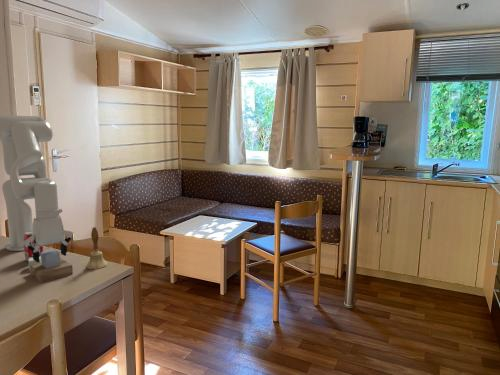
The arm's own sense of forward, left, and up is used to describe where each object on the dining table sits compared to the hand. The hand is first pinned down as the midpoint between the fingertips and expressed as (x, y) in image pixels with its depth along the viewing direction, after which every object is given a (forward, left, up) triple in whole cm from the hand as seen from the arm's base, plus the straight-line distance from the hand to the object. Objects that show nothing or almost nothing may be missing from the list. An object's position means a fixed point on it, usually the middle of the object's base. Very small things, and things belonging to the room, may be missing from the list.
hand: (50, 258), depth 145 cm
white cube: (-10, -2, -6) cm, 12 cm away
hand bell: (+4, +16, -7) cm, 18 cm away
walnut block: (0, 0, -7) cm, 7 cm away
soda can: (-20, +1, -6) cm, 21 cm away
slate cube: (0, 0, -3) cm, 3 cm away
